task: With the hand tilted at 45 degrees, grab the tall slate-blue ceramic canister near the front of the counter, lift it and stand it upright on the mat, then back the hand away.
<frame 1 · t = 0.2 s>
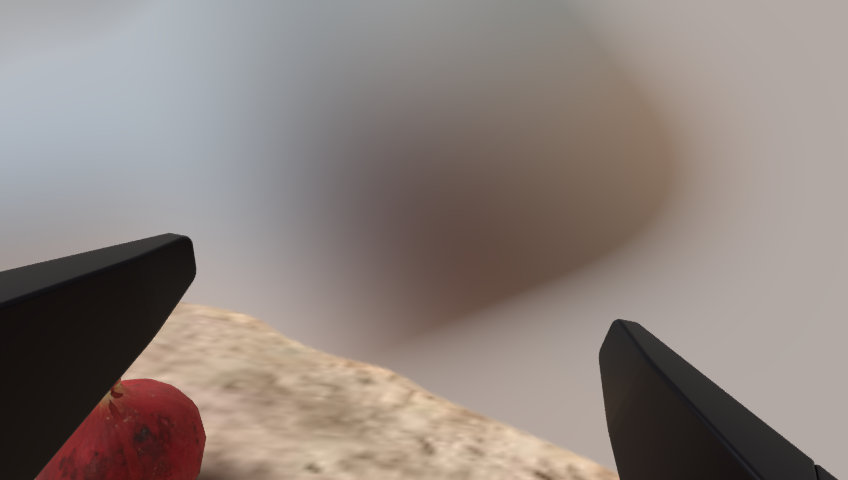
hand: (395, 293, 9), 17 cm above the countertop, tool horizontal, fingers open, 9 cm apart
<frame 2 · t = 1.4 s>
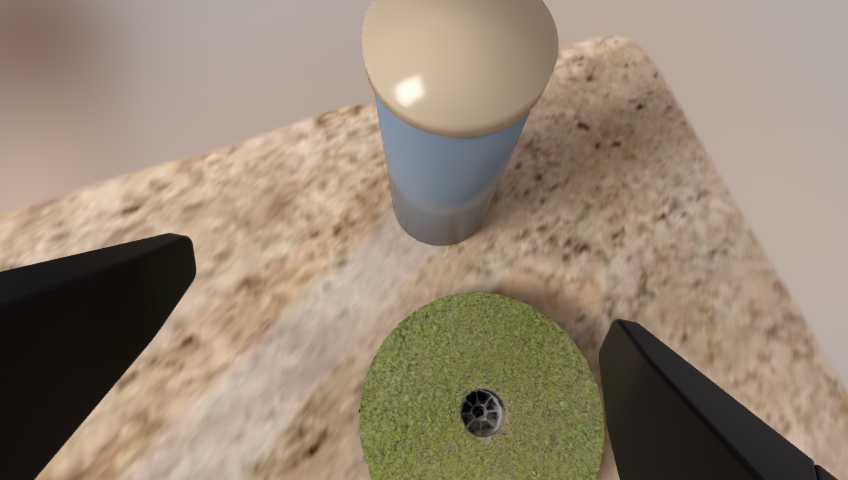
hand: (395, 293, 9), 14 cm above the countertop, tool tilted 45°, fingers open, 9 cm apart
canister: (439, 200, 24), on the countertop
mat: (476, 409, 21), on the countertop
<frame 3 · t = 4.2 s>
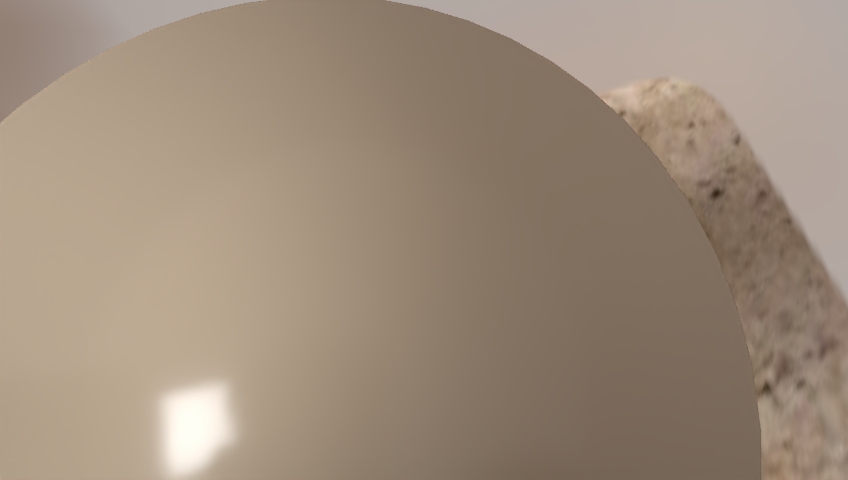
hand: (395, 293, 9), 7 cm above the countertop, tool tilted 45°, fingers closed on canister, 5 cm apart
canister: (398, 363, 15), on the countertop, touching gripper
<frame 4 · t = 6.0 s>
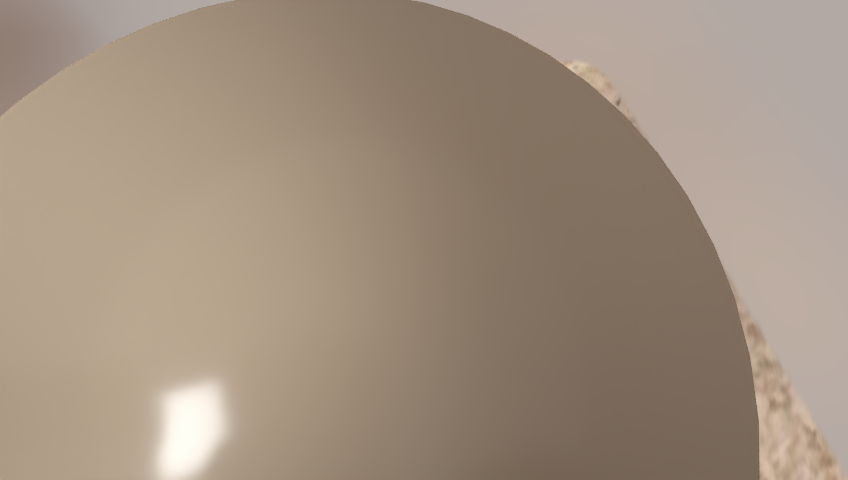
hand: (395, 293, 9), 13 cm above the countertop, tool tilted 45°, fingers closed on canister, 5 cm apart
canister: (397, 361, 15), point 7 cm above the countertop, touching gripper
when the fingers open (9 cm above the countertop, at t = 8.1 s): canister stays where it is, resting on mat.
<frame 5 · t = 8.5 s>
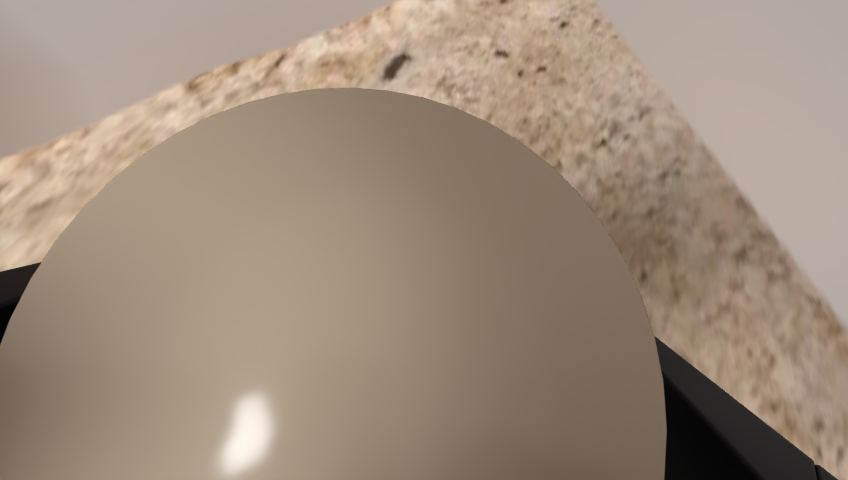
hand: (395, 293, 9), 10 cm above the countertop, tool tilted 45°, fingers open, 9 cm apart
canister: (399, 365, 16), point 2 cm above the countertop, touching mat
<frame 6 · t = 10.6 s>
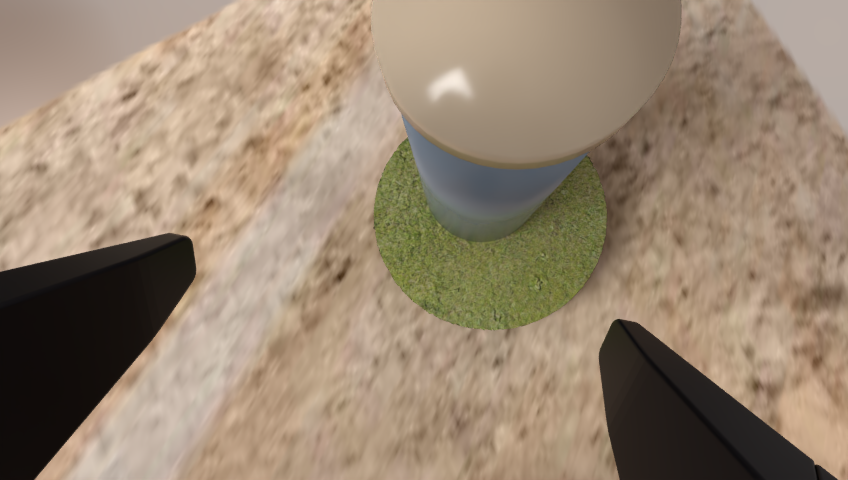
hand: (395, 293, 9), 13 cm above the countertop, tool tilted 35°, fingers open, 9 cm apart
canister: (480, 186, 20), point 2 cm above the countertop, touching mat
mat: (484, 220, 22), on the countertop, touching canister
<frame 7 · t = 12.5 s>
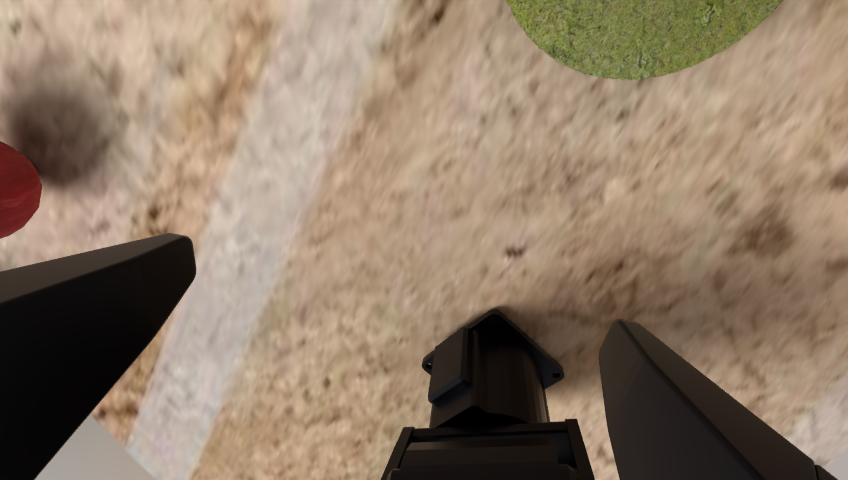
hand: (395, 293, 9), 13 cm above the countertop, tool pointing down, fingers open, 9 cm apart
onion: (34, 165, 24), on the countertop
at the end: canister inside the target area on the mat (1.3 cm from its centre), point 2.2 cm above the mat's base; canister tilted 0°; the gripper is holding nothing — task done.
